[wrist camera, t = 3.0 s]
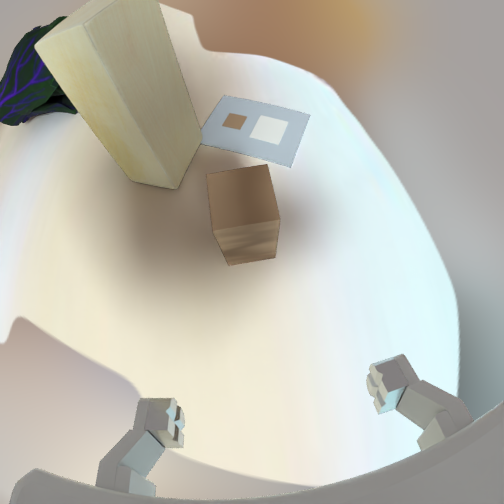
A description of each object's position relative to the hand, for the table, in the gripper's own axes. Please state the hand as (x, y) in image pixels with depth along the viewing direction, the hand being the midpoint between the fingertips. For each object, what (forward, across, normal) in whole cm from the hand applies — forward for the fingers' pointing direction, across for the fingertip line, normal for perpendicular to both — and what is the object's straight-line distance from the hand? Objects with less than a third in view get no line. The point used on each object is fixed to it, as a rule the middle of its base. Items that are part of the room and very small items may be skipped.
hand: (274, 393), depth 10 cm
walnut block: (+19, 0, +2) cm, 19 cm away
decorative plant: (+43, +27, -22) cm, 56 cm away
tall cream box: (+27, +8, -7) cm, 29 cm away
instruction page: (+29, -3, -8) cm, 30 cm away
